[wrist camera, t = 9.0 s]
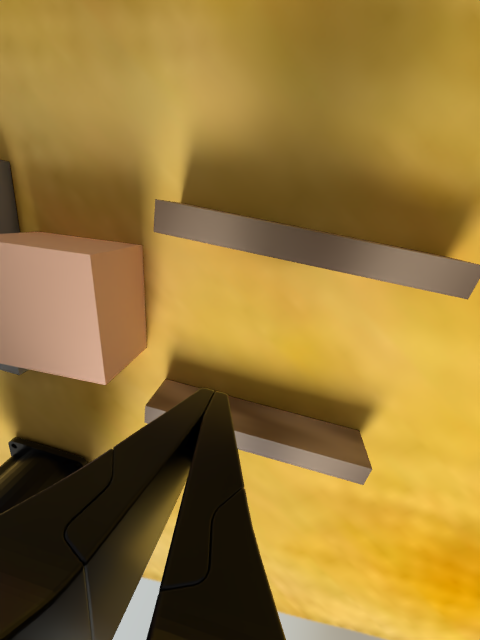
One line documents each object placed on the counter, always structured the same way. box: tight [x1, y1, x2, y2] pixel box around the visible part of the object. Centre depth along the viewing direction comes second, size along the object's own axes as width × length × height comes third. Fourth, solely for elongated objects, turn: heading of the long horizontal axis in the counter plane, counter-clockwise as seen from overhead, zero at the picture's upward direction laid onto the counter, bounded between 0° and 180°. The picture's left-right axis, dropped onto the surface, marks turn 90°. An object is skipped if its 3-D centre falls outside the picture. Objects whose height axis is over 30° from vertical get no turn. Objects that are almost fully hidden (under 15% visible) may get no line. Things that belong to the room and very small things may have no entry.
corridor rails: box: [145, 199, 480, 485], centre depth 13 cm, size 12×11×2 cm
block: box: [0, 232, 147, 385], centre depth 13 cm, size 6×6×4 cm
